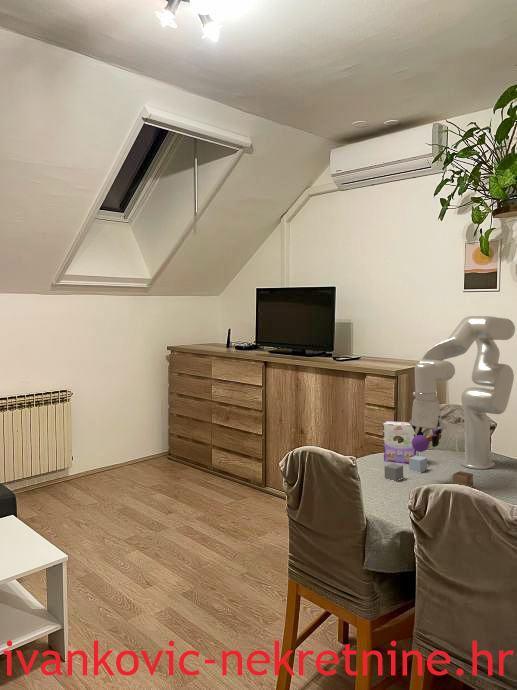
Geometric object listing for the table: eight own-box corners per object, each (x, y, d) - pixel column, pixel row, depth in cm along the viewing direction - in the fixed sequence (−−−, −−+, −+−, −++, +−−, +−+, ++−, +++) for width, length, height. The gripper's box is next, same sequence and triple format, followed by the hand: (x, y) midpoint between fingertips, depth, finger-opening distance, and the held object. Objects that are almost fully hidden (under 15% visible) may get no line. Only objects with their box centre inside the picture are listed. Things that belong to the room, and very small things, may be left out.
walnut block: (460, 484, 204) (460, 471, 203) (473, 487, 200) (473, 473, 200) (453, 487, 201) (452, 474, 200) (466, 490, 197) (466, 477, 196)
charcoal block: (392, 475, 217) (392, 463, 216) (403, 478, 213) (403, 465, 212) (384, 479, 213) (384, 466, 213) (395, 481, 210) (395, 468, 209)
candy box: (419, 461, 234) (418, 422, 233) (415, 464, 229) (415, 425, 228) (387, 457, 241) (386, 420, 240) (383, 461, 236) (382, 423, 235)
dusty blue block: (416, 467, 226) (416, 455, 225) (427, 470, 222) (427, 457, 222) (409, 470, 222) (409, 458, 222) (420, 473, 219) (420, 460, 218)
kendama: (446, 430, 212) (426, 439, 196) (443, 445, 213) (423, 455, 197) (431, 426, 215) (410, 434, 200) (428, 440, 216) (407, 450, 200)
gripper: (400, 396, 208) (402, 443, 210) (441, 400, 195) (443, 451, 197) (411, 392, 213) (413, 438, 215) (452, 397, 200) (454, 446, 202)
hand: (427, 444), depth 206 cm, fingers closed on kendama, 5 cm apart
